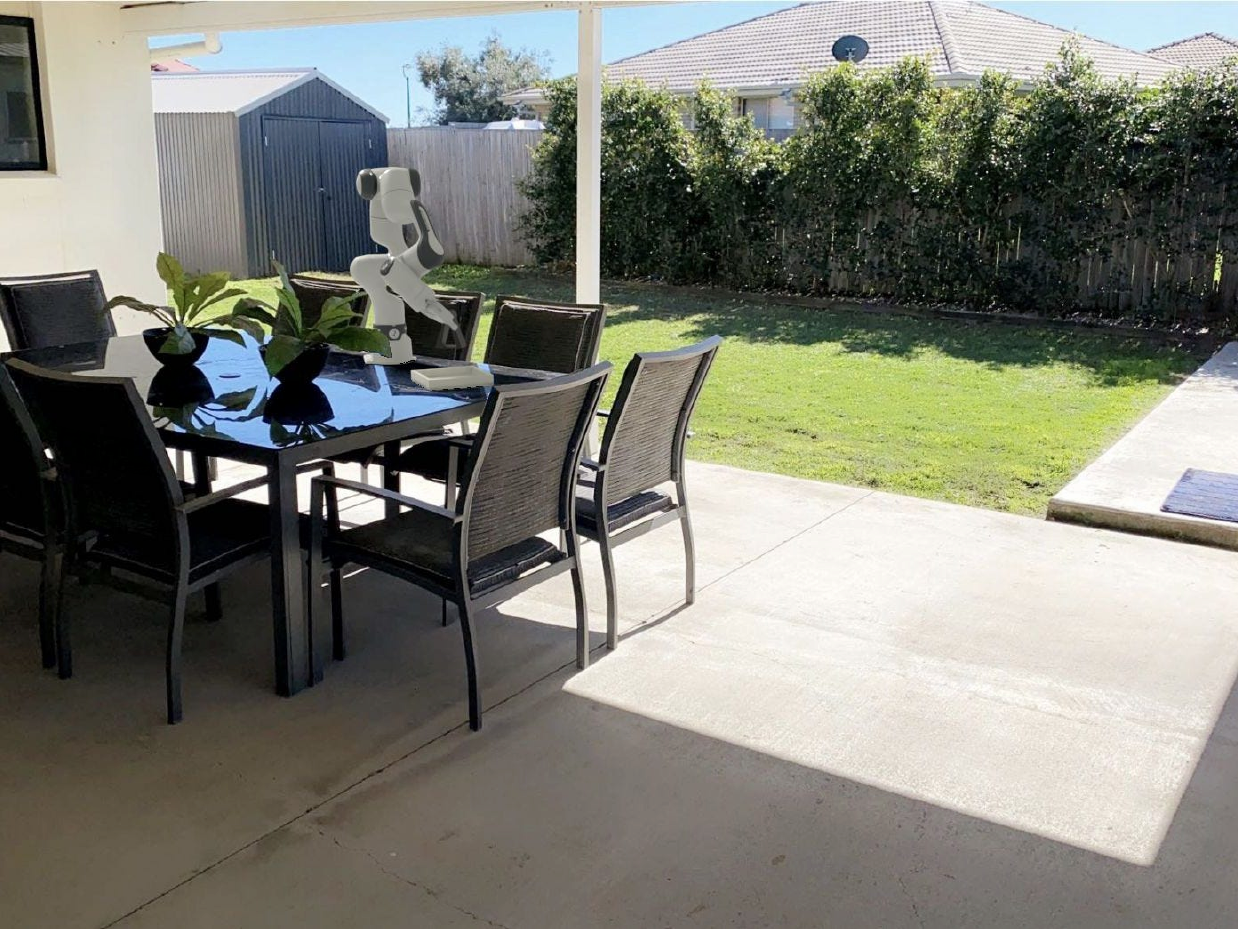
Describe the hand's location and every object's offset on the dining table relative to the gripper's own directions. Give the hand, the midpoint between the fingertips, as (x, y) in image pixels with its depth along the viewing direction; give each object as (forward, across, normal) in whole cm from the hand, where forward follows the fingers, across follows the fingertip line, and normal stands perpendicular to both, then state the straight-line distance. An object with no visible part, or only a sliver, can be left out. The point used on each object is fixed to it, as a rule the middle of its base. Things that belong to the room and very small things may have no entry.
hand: (451, 327), depth 380 cm
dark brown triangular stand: (+4, 0, +5) cm, 7 cm away
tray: (+13, 0, +14) cm, 19 cm away
